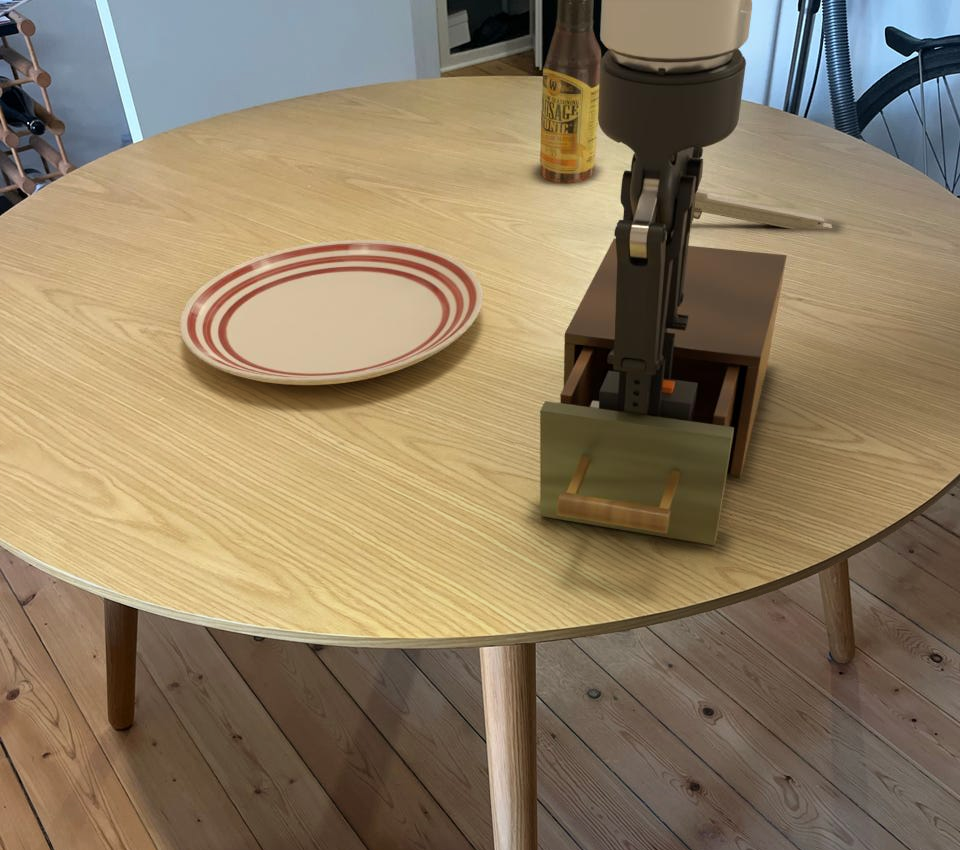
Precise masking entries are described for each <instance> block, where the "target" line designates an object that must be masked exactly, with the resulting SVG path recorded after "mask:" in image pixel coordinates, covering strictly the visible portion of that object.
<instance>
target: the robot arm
mask: <svg viewBox="0 0 960 850" xmlns="http://www.w3.org/2000/svg"><path fill="white" fill-rule="evenodd" d="M752 13H753V0H601V10H600V32H599V33H600V34H599V37H600V41H601V42H602V44H603V45H604V47H605V48H607V51H606V52H605V53H604V55H603V56H601V61H600V80H599V106H598V126H599V128H600V129H601V131H602V132H603V134H604V135H605V136H606V137H608V138H609V139H610V140H612V141H613V142H616V143H617V144H620V143H621V144H623V145H625V146H627V147H628V148H630V149H631V150H632V152H633V155H632V157H631V163H630V164H631V165H630V170H626V169H625V170H624V171H623V174H622V178H621V186H620V198H619V199H620V204H621V205H622V208H623V216H622V219H619V220H618V221H617V223H616V226H615V228H614V237H615V239H616V252H617V283H616V312H615V341H614V350H611V352H610V354H609V356H608V357H607V362H608V363H609V364H614V365H613V368H614V370H616V371H620V374H619V389H618V405H617V411H620V412H625V413H632V414H639V415H649V416H656V417H660V409H661V399H662V389H663V379H664V378H665V379H670V377H671V368H672V358H673V349H674V339H675V333H667V330H668V328H669V329H677V330H686V327H687V323H688V316H689V315H681V314H677V309H678V307H680V304H682V301H683V299H684V293H683V286H684V278H685V270H686V262H687V253H688V246H690V245H689V244H690V235H691V228H692V225H693V221H694V219H695V218H694V209H695V198H696V192H697V190H698V189H699V187H700V184H701V181H702V178H703V170H704V169H703V168H704V158H702V157H703V154H704V148H707V147H710V146H712V145H715V144H717V143H720V142H721V141H723V140H725V139H727V138H728V137H729V136H730V135H732V134H733V133H734V131H735V129H736V128H737V126H738V124H739V119H740V113H741V105H742V104H741V103H742V97H743V96H742V95H743V89H744V80H745V74H746V65H747V60H746V58H745V56H744V55H743V53H742V51H741V50H740V48H741V47H743V46H744V44H746V42H747V41H748V39H749V34H750V27H751V20H752V19H751V18H752Z"/></svg>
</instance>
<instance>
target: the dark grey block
mask: <svg viewBox="0 0 960 850" xmlns="http://www.w3.org/2000/svg"><path fill="white" fill-rule="evenodd" d="M619 374H620V372H615V371H608V373H607V376H606V378H605V380H604V382H603V385H602V387H601V389H600V395H599V401H592V403H591V405H590V407H592V408H599V409H606V410H613V411H617V405H618V389H619ZM697 386H698V383H694V382H687V381H680V380H673V379H665V378H664V379H663V389H662V399H661V409H660V417H663V418H670V419H677V420H685V421H692V422H693V416H694V408H695V401H696V394H697Z"/></svg>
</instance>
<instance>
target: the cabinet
mask: <svg viewBox="0 0 960 850" xmlns="http://www.w3.org/2000/svg"><path fill="white" fill-rule="evenodd" d="M611 241H612V242H611V243H610V245H609V246H608V250H607V251H606V253H605V255H604V257H603V259H602V261H601V263H600V264H599V266H598V268H597V271H596V272H595V274H594V276H593V277H592V280H591V282H590V284H589V286H588V288H587V290H586V291H585V294H584V295H583V297H582V299H581V301H580V303H579V305H578V307H577V309H576V310H575V312H574V315H573V317H572V319H571V320H570V322H569V323H568V326H567V328H566V329H565V332H564V341H563V342H564V346H563V347H564V348H563V351H564V352H563V387H564V386H565V384H566V382H567V380H568V378H569V376H570V374H571V372H572V370H573V368H574V366H575V364H576V362H577V359H578V357H579V355H580V353H581V351H582V349H583V347H584V345H585V346H593V347H601V348H609V349H614V341H615V312H616V283H617V252H616V237H615V238H613V240H611ZM787 257H788V256H787V255H786V254H780V253H779V254H778V253H769V252H768V253H767V252H759V251H757V252H756V251H748V250H737V249H727V248H717V247H707V246H695V245H688V253H687V262H686V270H685V278H684V286H683V293H684V299H683V301H682V304H680V307H678V309H677V314H681V315H689V316H688V323H687V327H686V330H677V329H669V328H668V330H667V333H675V339H674V349H673V357H681V358H689V359H697V360H705V361H713V362H721V363H729V364H737V365H745V367H744V373H743V379H742V386H741V392H740V398H739V404H738V411H737V416H736V423H735V427H734V432H733V439H732V445H731V451H730V458H729V464H728V470H727V476H726V477H728V478H734V479H741V477H742V473H743V470H744V465H745V460H746V457H747V452H748V448H749V444H750V439H751V435H752V431H753V427H754V424H755V420H756V415H757V411H758V407H759V403H760V399H761V394H762V391H763V386H764V381H765V378H766V374H767V370H768V369H767V368H768V364H769V359H770V358H769V357H770V353H771V346H772V342H773V335H774V329H775V323H776V319H777V312H778V308H779V303H780V297H781V296H780V295H781V291H782V284H783V279H784V274H785V268H786V263H787Z"/></svg>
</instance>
